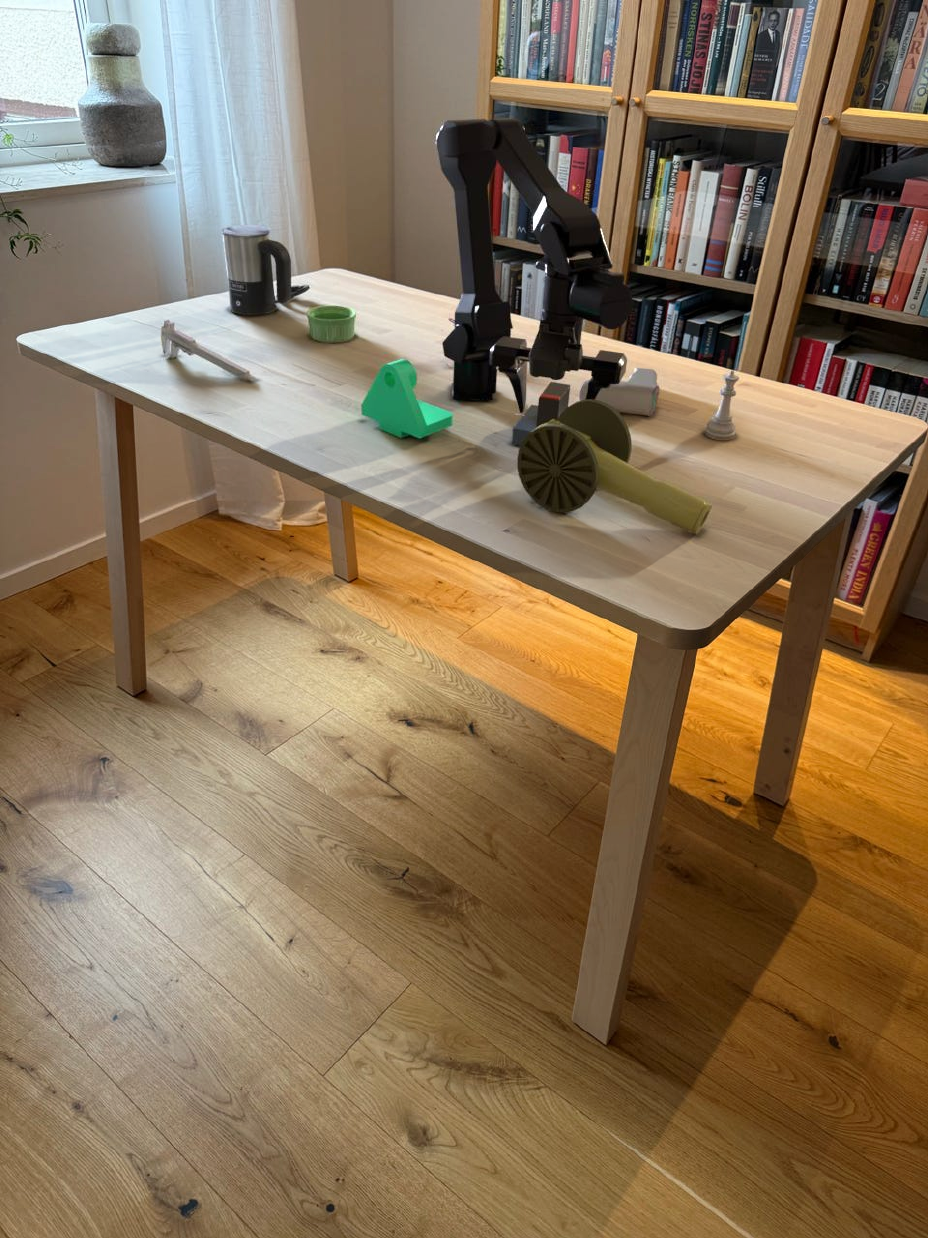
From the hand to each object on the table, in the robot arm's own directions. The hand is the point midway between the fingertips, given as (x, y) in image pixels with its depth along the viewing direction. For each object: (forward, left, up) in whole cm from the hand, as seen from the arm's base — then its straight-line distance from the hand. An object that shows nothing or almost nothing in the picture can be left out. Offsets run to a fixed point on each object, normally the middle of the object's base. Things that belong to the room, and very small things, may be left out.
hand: (552, 417), depth 138 cm
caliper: (-55, +25, -3) cm, 60 cm away
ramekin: (-36, +44, -3) cm, 57 cm away
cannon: (+6, -22, -3) cm, 23 cm away
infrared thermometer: (+13, +17, -3) cm, 21 cm away
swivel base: (+1, 0, -3) cm, 3 cm away
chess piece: (+26, +3, -3) cm, 26 cm away
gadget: (0, 0, -1) cm, 1 cm away
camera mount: (-21, +3, -3) cm, 21 cm away
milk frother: (-50, +62, -3) cm, 79 cm away
